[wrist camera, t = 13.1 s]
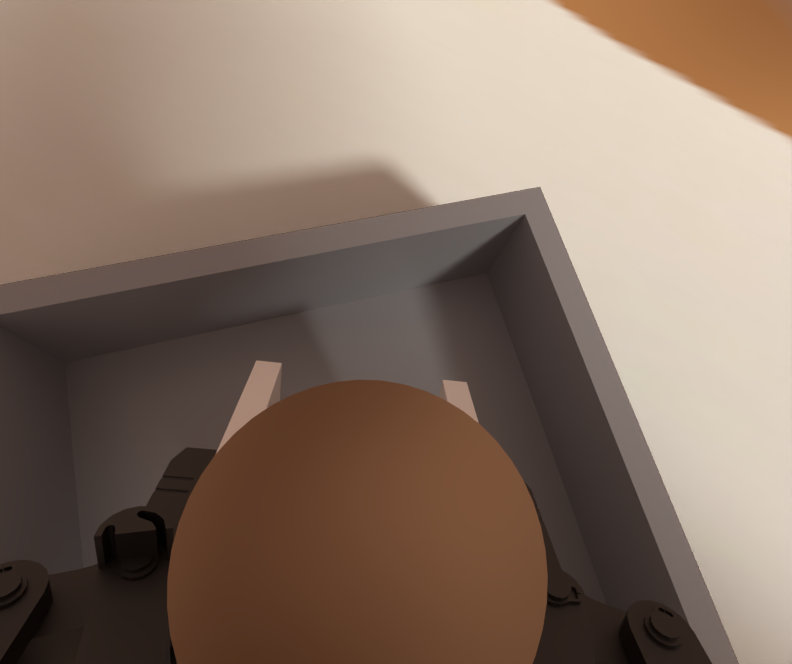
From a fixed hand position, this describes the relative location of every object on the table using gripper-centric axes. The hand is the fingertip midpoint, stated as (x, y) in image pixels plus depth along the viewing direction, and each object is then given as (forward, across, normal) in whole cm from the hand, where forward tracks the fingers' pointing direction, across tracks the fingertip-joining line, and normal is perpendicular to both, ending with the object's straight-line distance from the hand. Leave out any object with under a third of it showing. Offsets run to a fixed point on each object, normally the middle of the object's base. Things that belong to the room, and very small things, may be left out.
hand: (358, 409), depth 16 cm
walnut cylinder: (0, 0, +5) cm, 5 cm away
